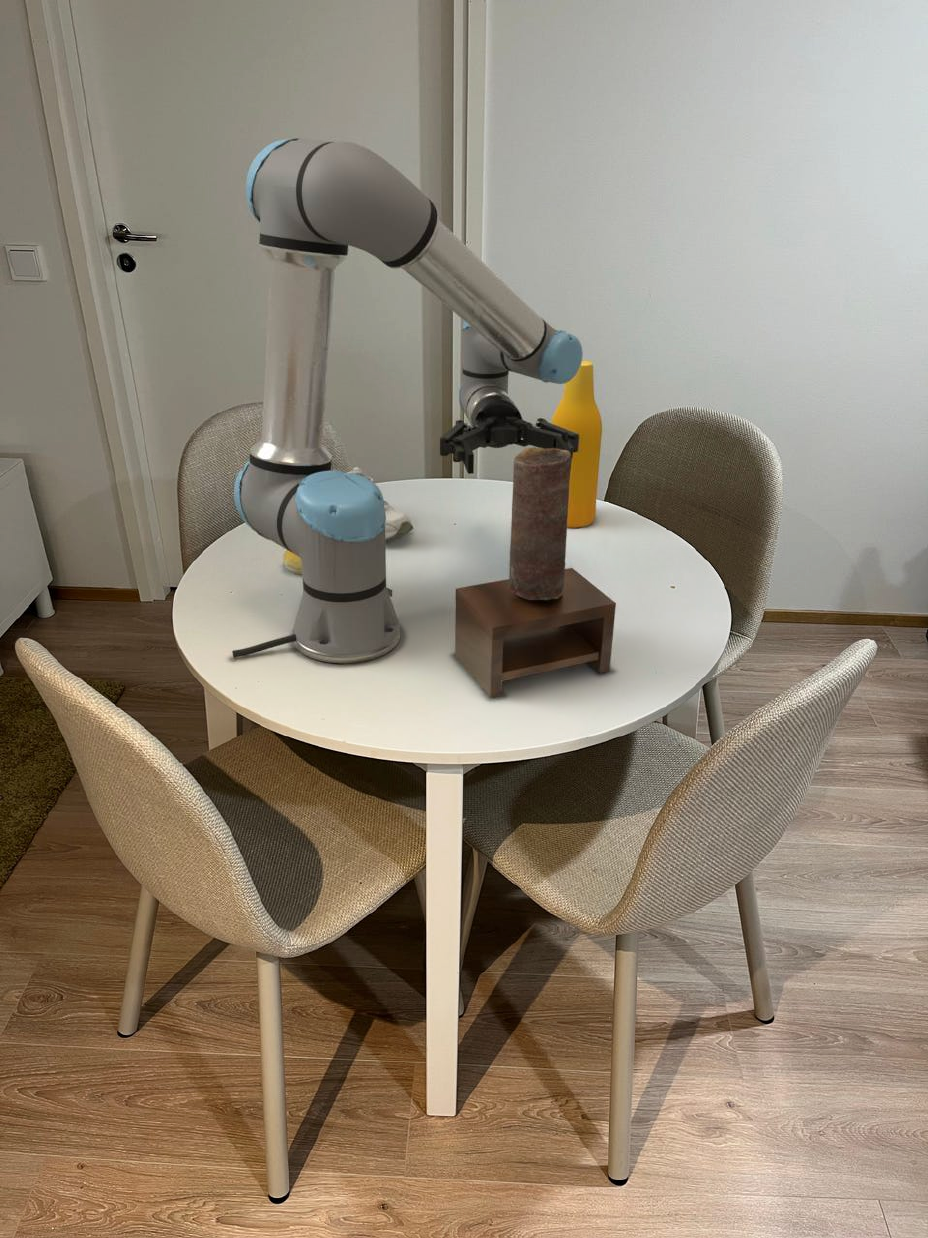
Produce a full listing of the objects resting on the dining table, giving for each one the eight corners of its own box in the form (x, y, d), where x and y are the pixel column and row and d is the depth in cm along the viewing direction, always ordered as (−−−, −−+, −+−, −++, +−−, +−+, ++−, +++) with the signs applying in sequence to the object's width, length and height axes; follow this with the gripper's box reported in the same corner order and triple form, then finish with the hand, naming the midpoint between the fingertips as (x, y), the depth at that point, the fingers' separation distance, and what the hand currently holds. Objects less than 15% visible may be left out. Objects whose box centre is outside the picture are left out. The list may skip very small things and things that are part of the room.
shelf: (490, 698, 128) (492, 627, 123) (454, 655, 138) (455, 588, 133) (609, 671, 134) (616, 603, 129) (567, 632, 144) (572, 567, 139)
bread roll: (276, 562, 164) (274, 540, 162) (326, 551, 168) (325, 530, 166) (295, 581, 158) (293, 558, 156) (346, 569, 162) (345, 547, 160)
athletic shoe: (392, 552, 168) (400, 483, 164) (297, 522, 180) (303, 457, 176) (428, 547, 176) (437, 481, 172) (335, 518, 188) (341, 456, 184)
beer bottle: (582, 532, 177) (594, 371, 164) (536, 522, 181) (544, 364, 168) (602, 516, 184) (616, 361, 171) (558, 506, 188) (567, 354, 175)
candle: (546, 613, 126) (555, 465, 117) (497, 599, 130) (501, 454, 120) (572, 591, 132) (583, 448, 123) (525, 578, 136) (531, 438, 126)
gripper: (571, 438, 156) (606, 485, 137) (414, 443, 152) (429, 491, 134) (574, 392, 152) (611, 433, 134) (414, 395, 149) (429, 438, 130)
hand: (520, 462), depth 134 cm, fingers open, 13 cm apart
